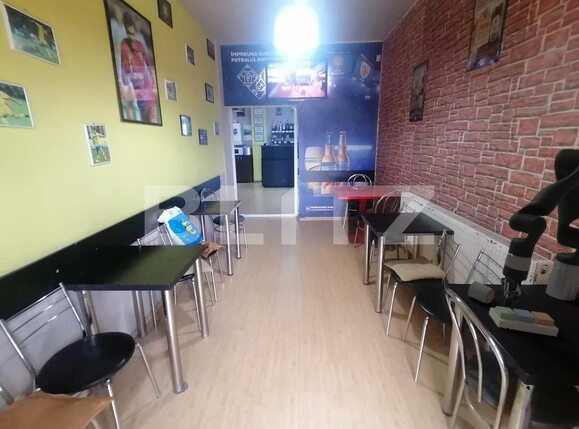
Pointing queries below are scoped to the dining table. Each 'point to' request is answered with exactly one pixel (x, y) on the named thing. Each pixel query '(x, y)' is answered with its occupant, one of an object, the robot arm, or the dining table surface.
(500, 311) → the green button
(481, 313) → the dining table surface
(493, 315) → the console
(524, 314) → the slate button
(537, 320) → the terracotta button
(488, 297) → the grey cylinder
